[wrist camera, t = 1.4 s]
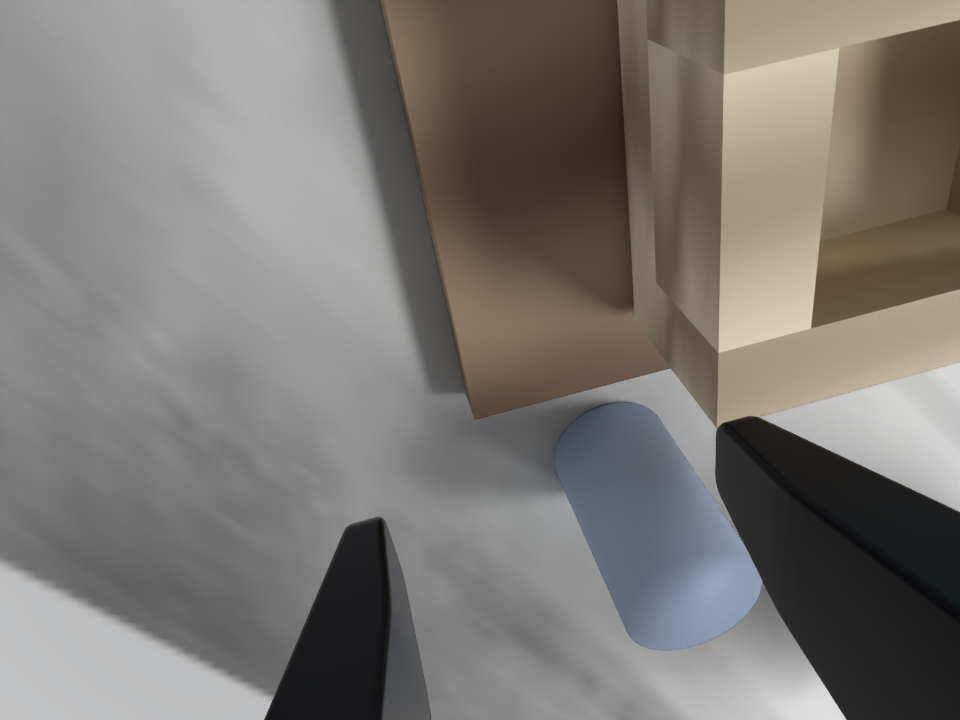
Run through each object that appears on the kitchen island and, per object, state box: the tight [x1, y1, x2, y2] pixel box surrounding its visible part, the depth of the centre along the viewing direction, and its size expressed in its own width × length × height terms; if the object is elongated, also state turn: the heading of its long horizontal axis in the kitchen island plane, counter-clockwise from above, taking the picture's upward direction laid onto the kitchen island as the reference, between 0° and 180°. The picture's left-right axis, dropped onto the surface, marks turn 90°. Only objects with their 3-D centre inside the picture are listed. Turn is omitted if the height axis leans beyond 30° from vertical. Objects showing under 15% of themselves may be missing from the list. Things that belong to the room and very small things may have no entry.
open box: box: [617, 0, 960, 428], centre depth 15 cm, size 9×9×4 cm
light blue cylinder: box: [554, 402, 762, 651], centre depth 21 cm, size 4×4×6 cm
